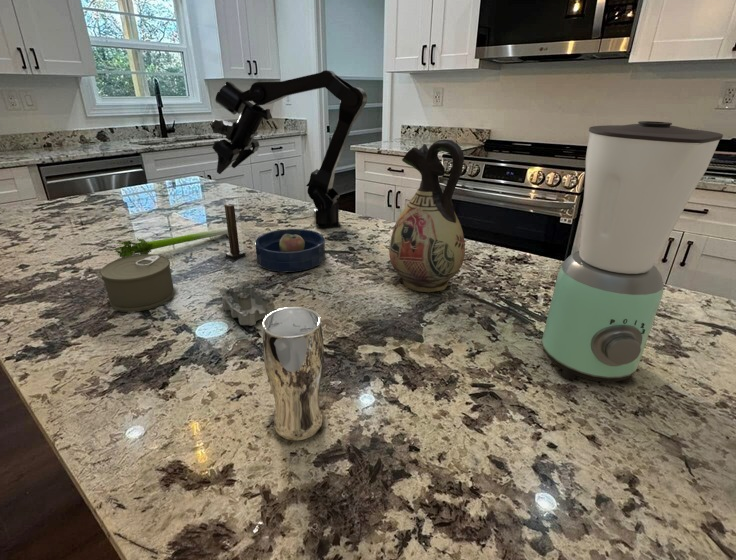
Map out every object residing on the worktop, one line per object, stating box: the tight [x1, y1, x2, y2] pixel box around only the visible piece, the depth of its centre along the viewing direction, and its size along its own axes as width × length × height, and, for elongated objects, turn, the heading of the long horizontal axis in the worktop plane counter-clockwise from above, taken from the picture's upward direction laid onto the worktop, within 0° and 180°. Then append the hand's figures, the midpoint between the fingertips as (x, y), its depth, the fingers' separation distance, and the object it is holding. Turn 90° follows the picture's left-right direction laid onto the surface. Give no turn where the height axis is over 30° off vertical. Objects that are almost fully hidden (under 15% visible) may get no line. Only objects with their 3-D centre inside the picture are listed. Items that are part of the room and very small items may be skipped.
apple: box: [279, 234, 305, 252], centre depth 99 cm, size 6×8×6 cm
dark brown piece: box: [224, 203, 246, 261], centre depth 99 cm, size 3×3×13 cm
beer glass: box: [261, 306, 325, 441], centre depth 50 cm, size 7×7×15 cm
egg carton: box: [219, 283, 277, 327], centre depth 77 cm, size 11×8×4 cm
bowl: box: [254, 228, 326, 273], centre depth 100 cm, size 16×16×5 cm
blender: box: [541, 120, 724, 384], centre depth 58 cm, size 19×13×35 cm
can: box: [100, 253, 175, 313], centre depth 81 cm, size 12×12×7 cm
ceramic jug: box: [388, 139, 466, 293], centre depth 82 cm, size 17×15×30 cm
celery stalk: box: [114, 226, 228, 258], centre depth 106 cm, size 6×7×30 cm
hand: (225, 170), depth 124 cm, fingers open, 9 cm apart
